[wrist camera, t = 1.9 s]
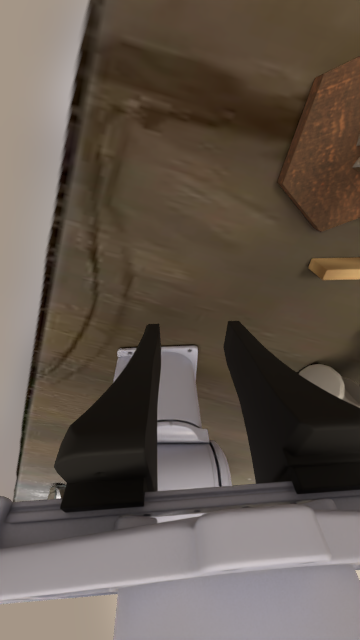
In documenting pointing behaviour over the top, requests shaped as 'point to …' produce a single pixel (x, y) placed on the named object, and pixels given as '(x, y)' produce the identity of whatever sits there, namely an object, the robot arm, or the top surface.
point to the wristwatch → (54, 493)
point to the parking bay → (336, 268)
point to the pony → (333, 382)
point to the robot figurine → (327, 150)
